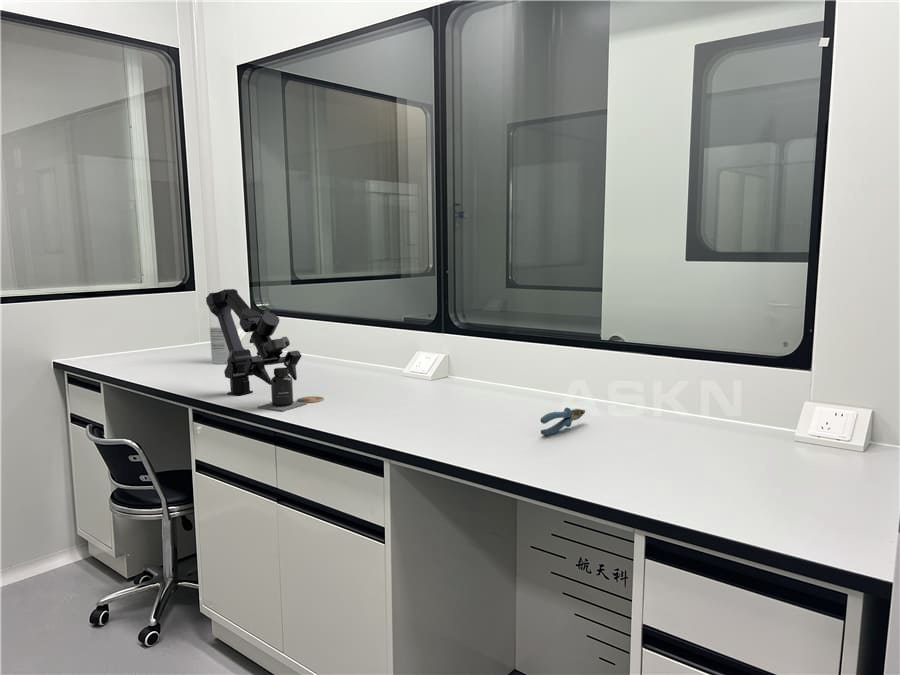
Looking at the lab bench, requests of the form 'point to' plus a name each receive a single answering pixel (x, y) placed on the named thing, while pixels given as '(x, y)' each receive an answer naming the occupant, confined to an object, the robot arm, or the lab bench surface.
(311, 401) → the walnut coaster
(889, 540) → the lab bench surface
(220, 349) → the supplement box
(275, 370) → the supplement bottle
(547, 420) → the pliers
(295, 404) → the charcoal mat
